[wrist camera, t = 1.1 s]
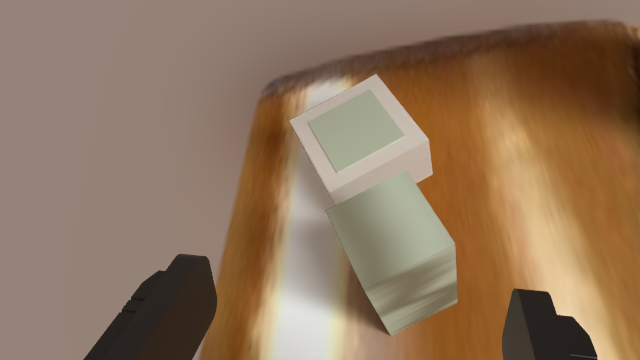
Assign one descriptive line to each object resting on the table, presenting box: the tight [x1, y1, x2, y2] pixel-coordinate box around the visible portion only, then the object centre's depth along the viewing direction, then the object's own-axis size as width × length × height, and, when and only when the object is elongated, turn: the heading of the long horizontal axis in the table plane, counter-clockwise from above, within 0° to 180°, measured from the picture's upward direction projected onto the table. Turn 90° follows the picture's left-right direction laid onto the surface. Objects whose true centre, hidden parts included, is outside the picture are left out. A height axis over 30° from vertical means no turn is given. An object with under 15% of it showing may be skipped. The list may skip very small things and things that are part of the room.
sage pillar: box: [325, 170, 458, 336], centre depth 27 cm, size 5×5×10 cm
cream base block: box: [289, 74, 433, 205], centre depth 36 cm, size 8×8×5 cm
